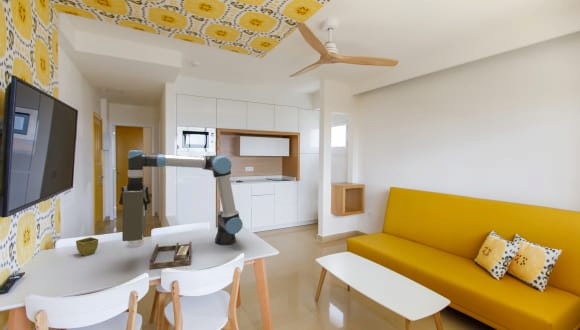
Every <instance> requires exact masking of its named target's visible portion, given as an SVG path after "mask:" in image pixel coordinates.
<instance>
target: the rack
mask: <svg viewBox="0 0 580 330" xmlns="http://www.w3.org/2000/svg"><path fill="white" fill-rule="evenodd" d="M181 246H189V253H188V259H187V260H180V261H177V259H176V255H177V253H178V251H179V249H180V247H181ZM154 247H155V248H154V250H153V251H152V254H151V256H150V258H149V270H157V269H168V268H176V267H184V266H185V267H186V266H191V264H192V263H191V262H192V241H189V243H186V244H179V242H176V244H174V245H173V244H172V245H164V246H163V245H161V246H159V243H157V244H156V245H155V246H154ZM167 251H168V252H169V251H174V253H173V261H162V262H161V261H160V262H155V261H156V259H157V256H158V254H159V253H160V252H167Z"/></svg>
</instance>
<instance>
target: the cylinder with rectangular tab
mask: <svg viewBox="0 0 580 330" xmlns="http://www.w3.org/2000/svg"><path fill="white" fill-rule="evenodd" d="M127 242H128V245H127V246H128V248H139V247H142V246H144V236H143V237H142V240H136V241H127Z"/></svg>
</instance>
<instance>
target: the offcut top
mask: <svg viewBox="0 0 580 330" xmlns="http://www.w3.org/2000/svg"><path fill="white" fill-rule="evenodd" d="M188 251H189V246H181V247H180V249H179V250H178V253H177V255H176V259H177V258H186V255H187V253H188ZM188 254H189V253H188Z"/></svg>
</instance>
